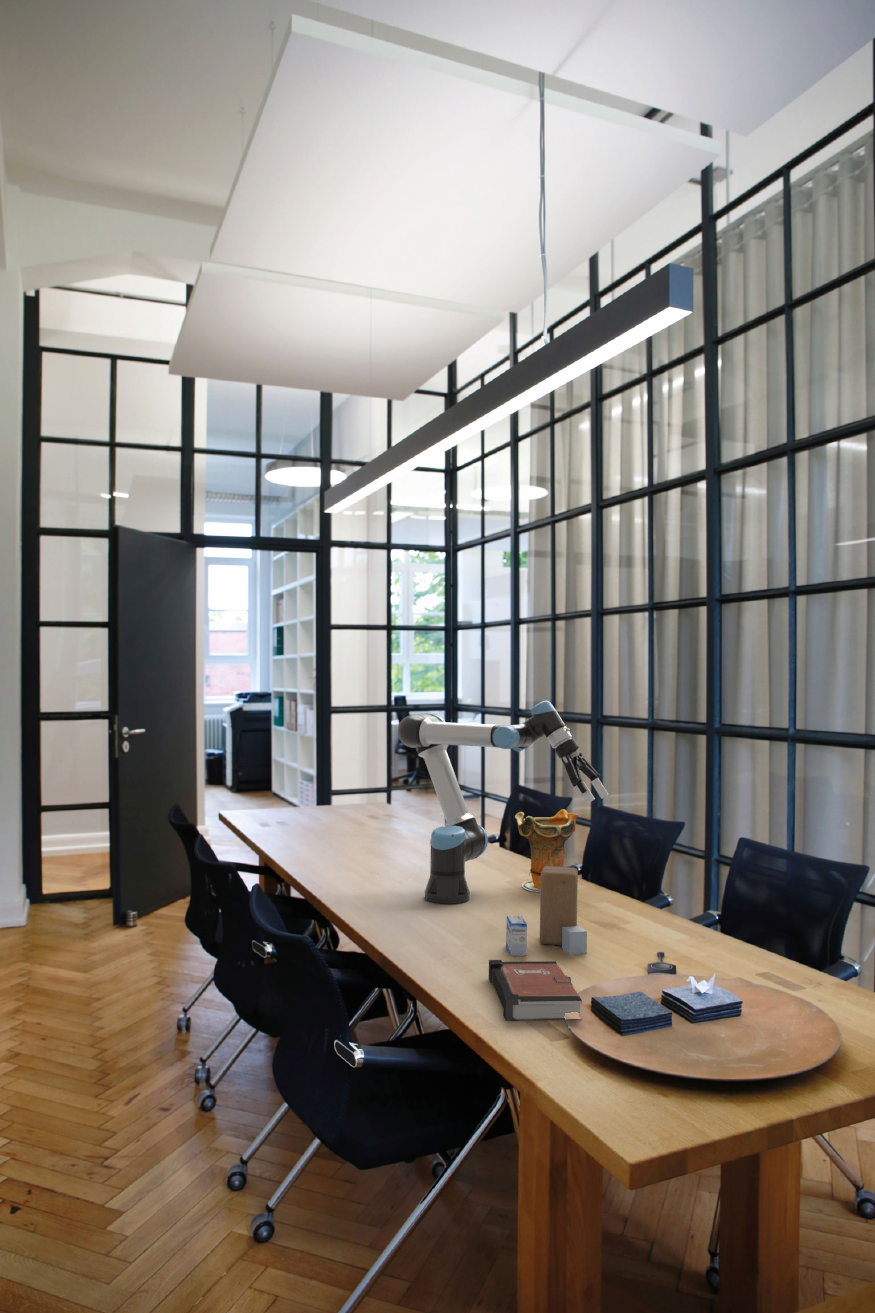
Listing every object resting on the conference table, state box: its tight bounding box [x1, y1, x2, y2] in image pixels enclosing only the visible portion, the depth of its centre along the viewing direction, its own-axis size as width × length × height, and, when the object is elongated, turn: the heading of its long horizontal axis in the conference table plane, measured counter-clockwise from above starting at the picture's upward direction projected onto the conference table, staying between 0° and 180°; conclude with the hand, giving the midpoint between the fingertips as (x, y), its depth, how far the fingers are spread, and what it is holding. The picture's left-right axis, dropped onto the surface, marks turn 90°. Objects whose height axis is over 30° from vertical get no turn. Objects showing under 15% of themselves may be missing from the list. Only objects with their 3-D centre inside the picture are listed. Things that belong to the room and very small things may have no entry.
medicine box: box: [505, 915, 528, 957], centre depth 230 cm, size 8×4×9 cm, turn 5°
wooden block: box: [539, 866, 579, 946], centre depth 240 cm, size 10×10×20 cm
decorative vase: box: [514, 808, 579, 893], centre depth 303 cm, size 21×23×28 cm
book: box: [488, 959, 583, 1022], centre depth 196 cm, size 26×18×5 cm
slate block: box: [561, 925, 588, 955], centre depth 231 cm, size 5×5×6 cm
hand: (598, 799), depth 274 cm, fingers open, 13 cm apart
